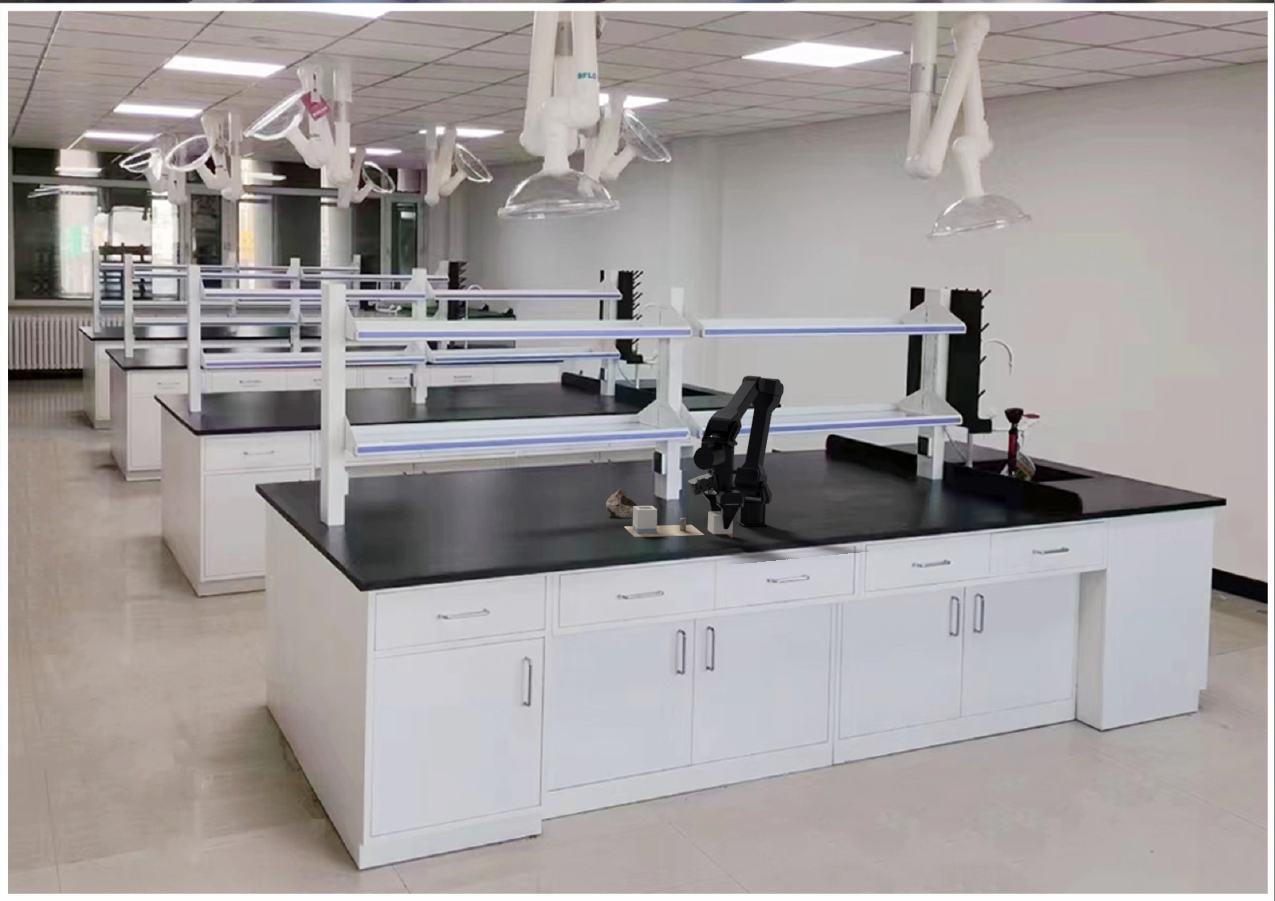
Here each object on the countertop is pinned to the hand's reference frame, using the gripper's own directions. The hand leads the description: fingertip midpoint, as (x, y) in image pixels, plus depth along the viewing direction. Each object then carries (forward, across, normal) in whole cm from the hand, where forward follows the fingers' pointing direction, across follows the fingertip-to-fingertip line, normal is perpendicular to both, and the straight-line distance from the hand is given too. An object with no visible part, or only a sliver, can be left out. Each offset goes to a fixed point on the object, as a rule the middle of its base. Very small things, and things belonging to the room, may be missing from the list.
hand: (720, 525), depth 323 cm
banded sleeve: (+3, 0, 0) cm, 3 cm away
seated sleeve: (+2, -3, -19) cm, 19 cm away
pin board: (+3, -3, -14) cm, 15 cm away
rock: (+3, -23, -20) cm, 30 cm away
